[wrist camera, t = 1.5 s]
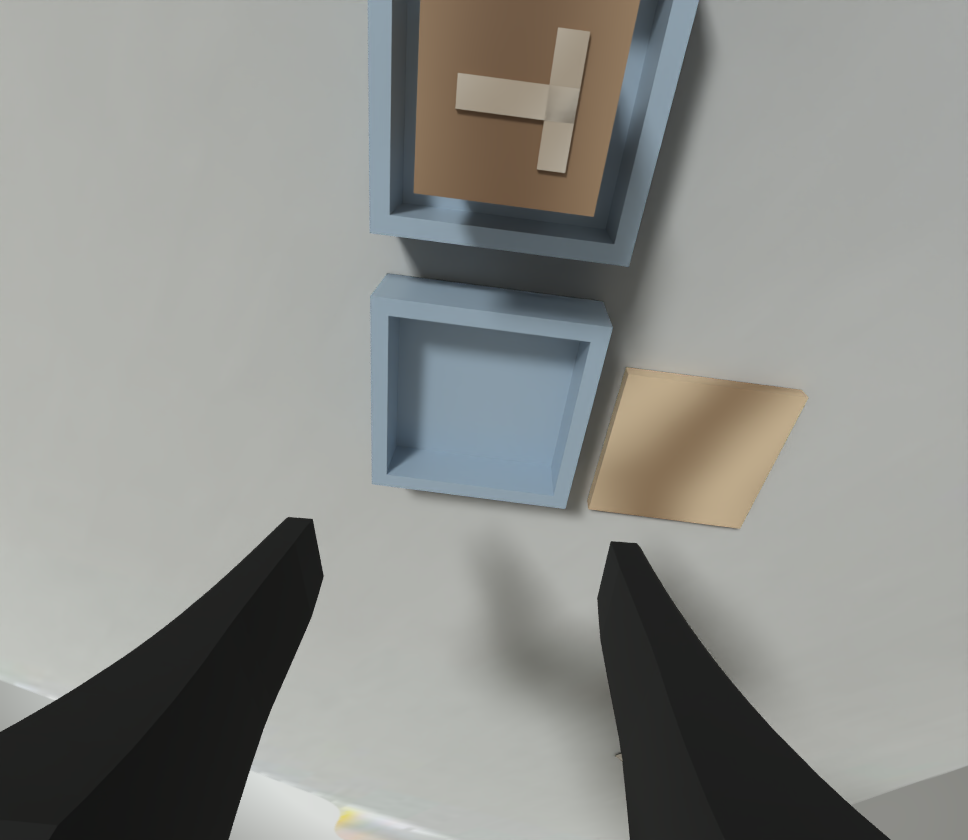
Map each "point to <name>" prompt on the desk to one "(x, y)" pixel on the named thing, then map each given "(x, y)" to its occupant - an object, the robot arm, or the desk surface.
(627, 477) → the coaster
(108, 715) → the robot arm
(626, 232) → the dish
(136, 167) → the desk surface
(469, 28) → the letter block
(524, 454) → the dish
